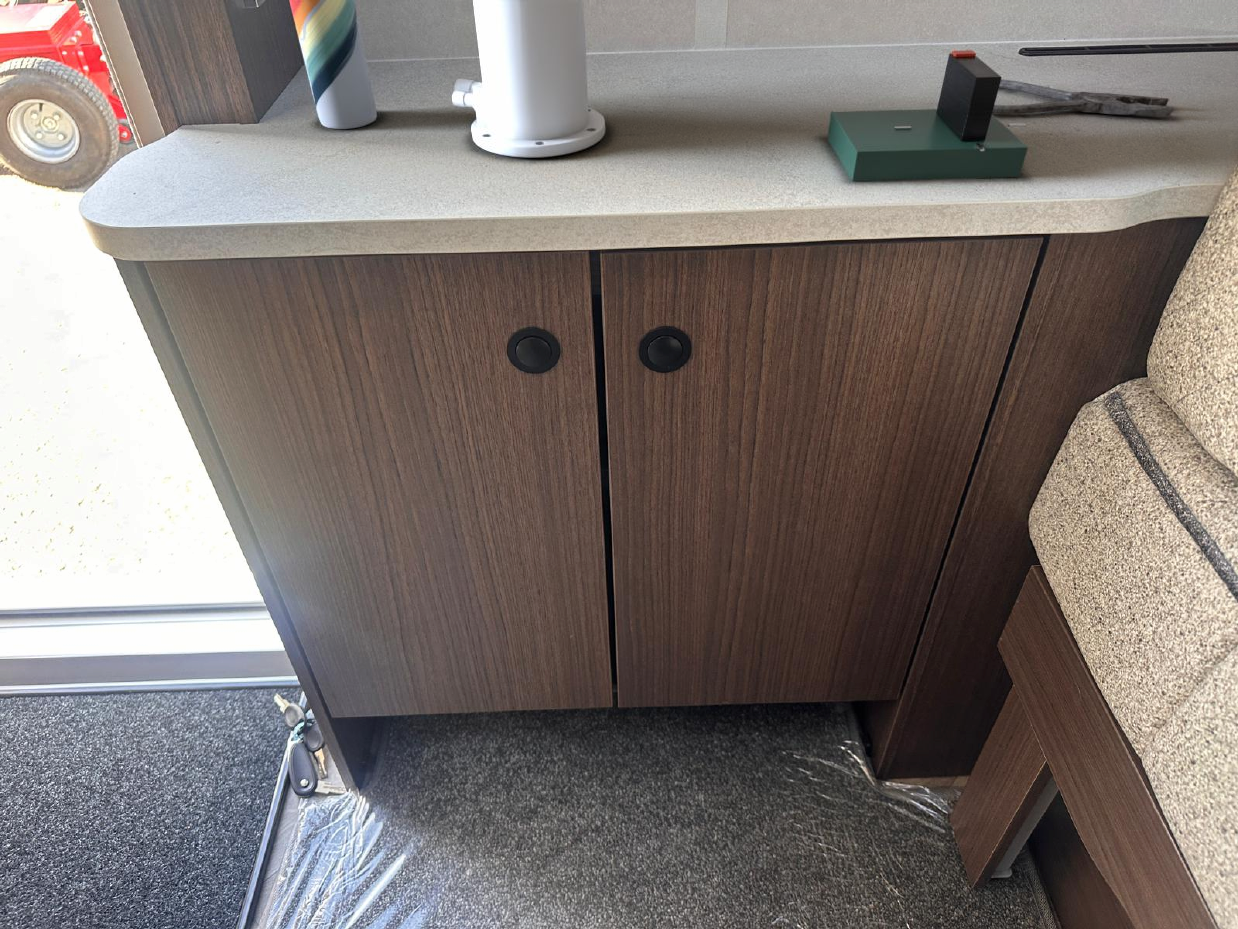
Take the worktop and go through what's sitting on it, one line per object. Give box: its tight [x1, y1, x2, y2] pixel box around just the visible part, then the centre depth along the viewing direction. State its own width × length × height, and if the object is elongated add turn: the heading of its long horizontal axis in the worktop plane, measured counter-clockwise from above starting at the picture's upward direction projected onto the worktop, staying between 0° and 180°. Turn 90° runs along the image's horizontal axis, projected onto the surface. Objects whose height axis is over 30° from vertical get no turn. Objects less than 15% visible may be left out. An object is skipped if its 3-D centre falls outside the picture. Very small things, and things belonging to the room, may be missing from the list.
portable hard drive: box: [936, 49, 1002, 141], centre depth 70 cm, size 7×2×5 cm, turn 1°
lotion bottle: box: [288, 0, 378, 130], centre depth 77 cm, size 6×6×20 cm
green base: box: [826, 105, 1029, 182], centre depth 72 cm, size 16×11×3 cm
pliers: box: [992, 78, 1174, 118], centre depth 84 cm, size 10×1×20 cm
